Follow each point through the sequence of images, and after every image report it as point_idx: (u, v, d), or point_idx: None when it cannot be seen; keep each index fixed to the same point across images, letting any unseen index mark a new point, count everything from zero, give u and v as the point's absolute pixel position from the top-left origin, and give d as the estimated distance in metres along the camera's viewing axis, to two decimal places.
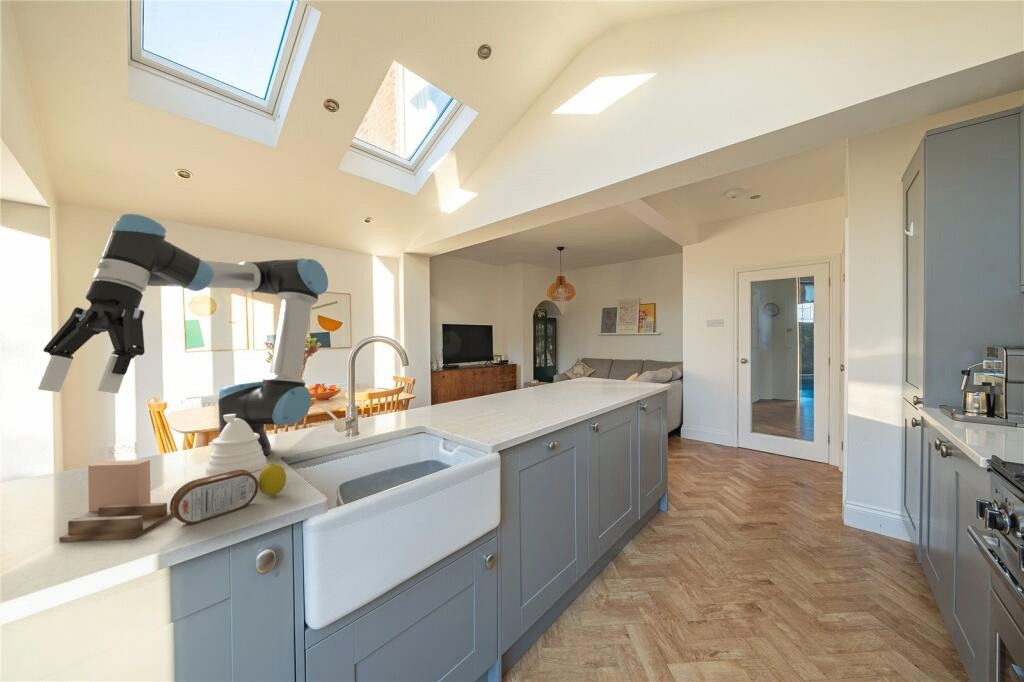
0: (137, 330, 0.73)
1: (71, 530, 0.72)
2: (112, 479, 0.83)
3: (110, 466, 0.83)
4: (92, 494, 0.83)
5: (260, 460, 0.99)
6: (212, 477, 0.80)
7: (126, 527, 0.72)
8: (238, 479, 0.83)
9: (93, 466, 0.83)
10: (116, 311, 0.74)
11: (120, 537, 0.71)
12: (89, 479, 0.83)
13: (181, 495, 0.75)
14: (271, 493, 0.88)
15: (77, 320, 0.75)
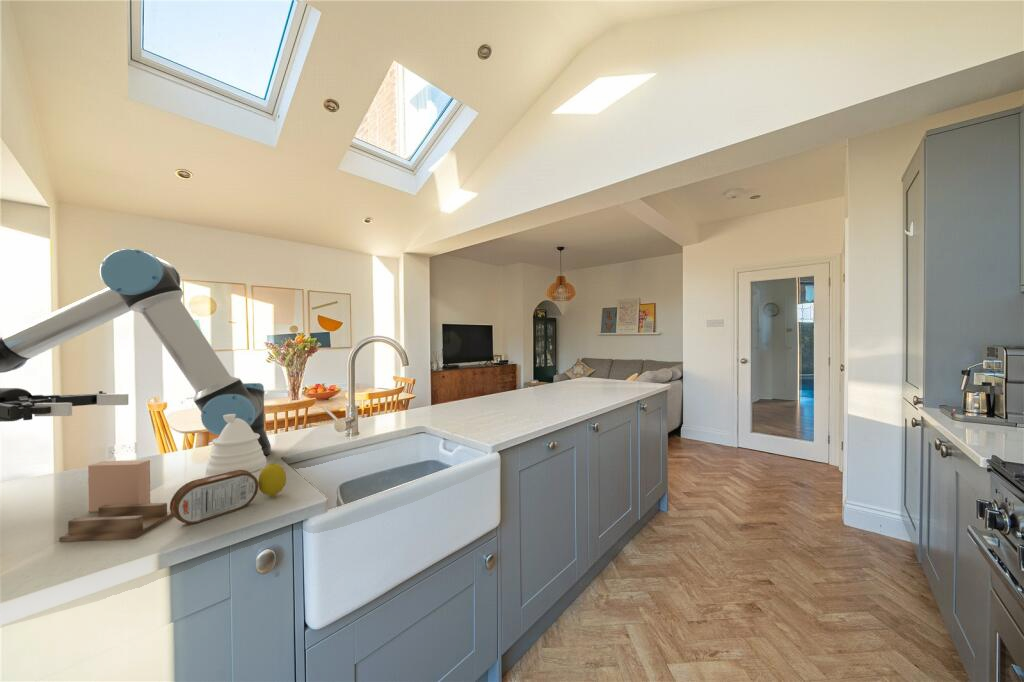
0: (0, 409, 0.80)
1: (71, 530, 0.72)
2: (112, 479, 0.83)
3: (110, 466, 0.83)
4: (92, 494, 0.83)
5: (260, 460, 0.99)
6: (212, 477, 0.80)
7: (126, 527, 0.72)
8: (238, 479, 0.83)
9: (93, 466, 0.83)
10: None
11: (120, 537, 0.71)
12: (89, 479, 0.83)
13: (181, 495, 0.75)
14: (271, 493, 0.88)
15: None
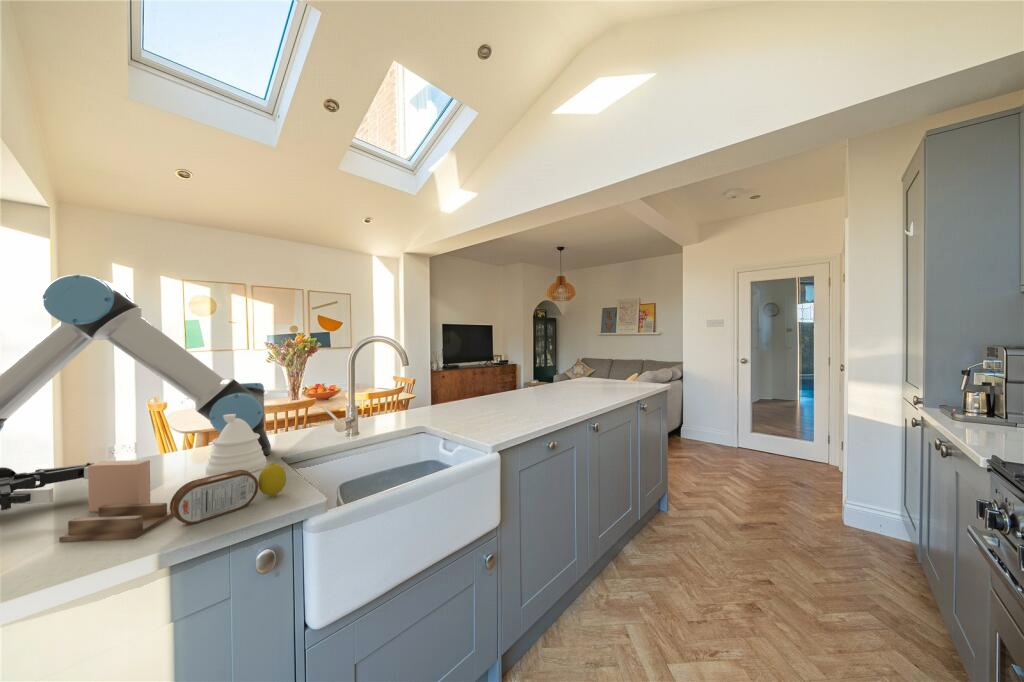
0: None
1: (71, 530, 0.72)
2: (112, 479, 0.83)
3: (110, 466, 0.83)
4: (92, 494, 0.83)
5: (260, 460, 0.99)
6: (212, 477, 0.80)
7: (126, 527, 0.72)
8: (238, 479, 0.83)
9: (93, 466, 0.83)
10: None
11: (120, 537, 0.71)
12: (89, 479, 0.83)
13: (181, 495, 0.75)
14: (271, 493, 0.88)
15: None
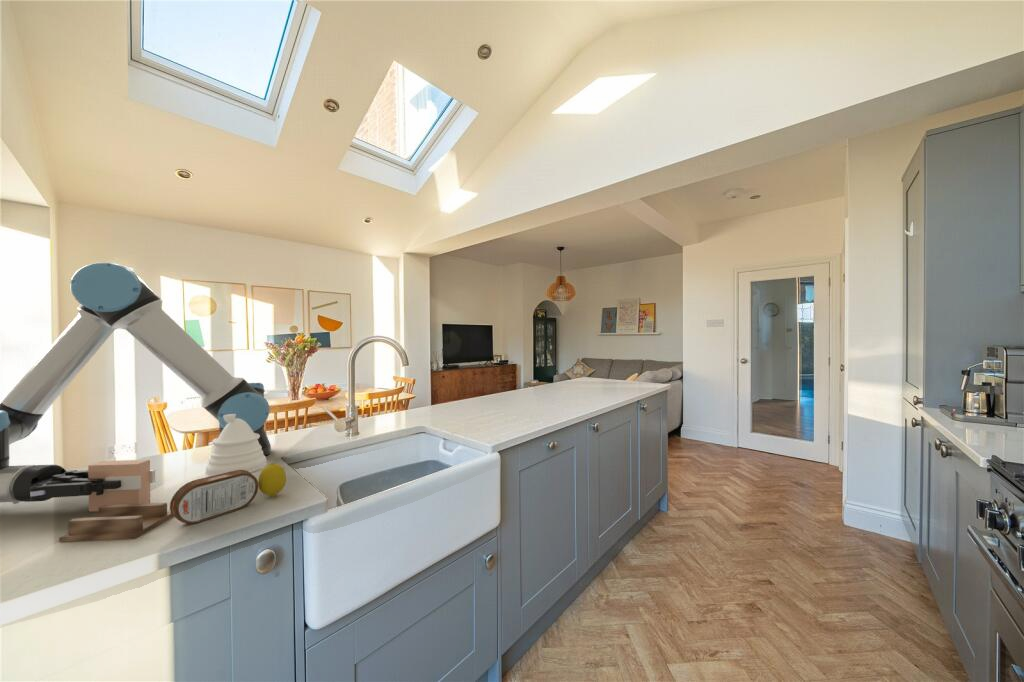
0: (60, 490, 0.79)
1: (71, 530, 0.72)
2: None
3: (110, 466, 0.83)
4: (92, 494, 0.83)
5: (260, 460, 0.99)
6: (212, 477, 0.80)
7: (126, 527, 0.72)
8: (238, 479, 0.83)
9: (93, 466, 0.83)
10: None
11: (120, 537, 0.71)
12: None
13: (181, 495, 0.75)
14: (271, 493, 0.88)
15: None
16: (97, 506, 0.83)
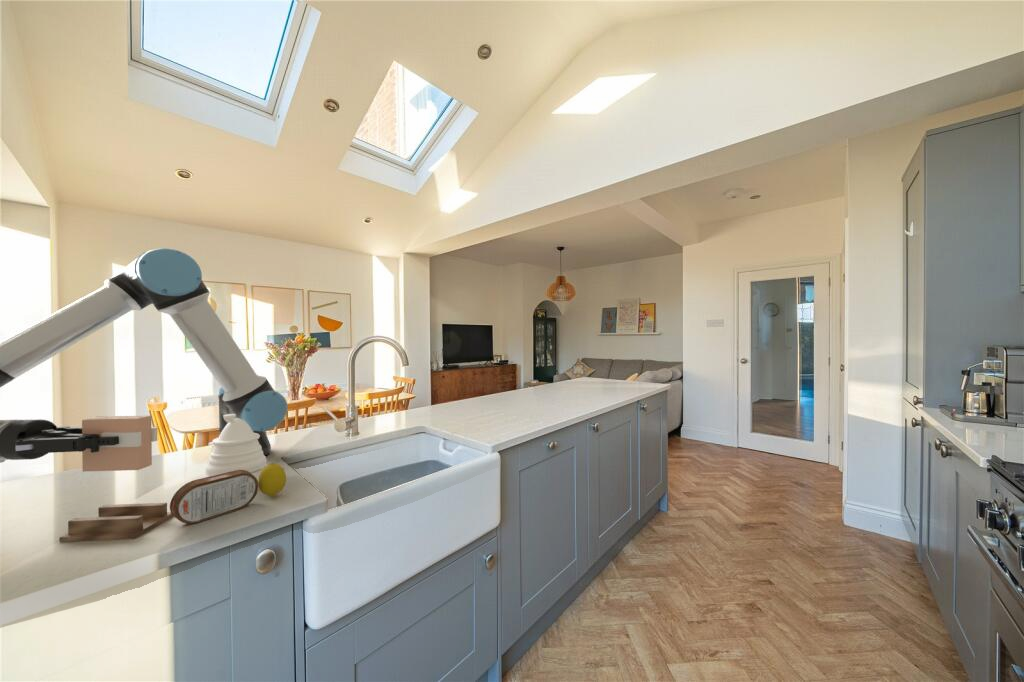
0: (50, 444, 0.69)
1: (71, 530, 0.72)
2: None
3: (107, 420, 0.74)
4: (86, 452, 0.73)
5: (260, 460, 0.99)
6: (212, 477, 0.80)
7: (126, 527, 0.72)
8: (238, 479, 0.83)
9: (87, 420, 0.73)
10: None
11: (120, 537, 0.71)
12: None
13: (181, 495, 0.75)
14: (271, 493, 0.88)
15: None
16: (92, 465, 0.74)
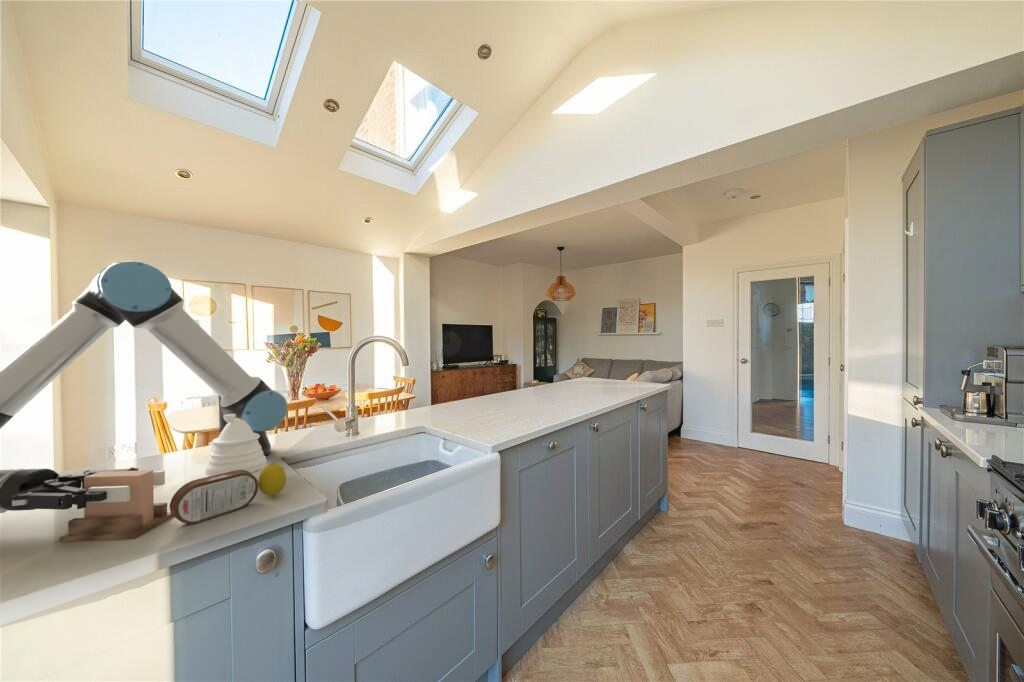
0: (40, 501, 0.68)
1: (71, 530, 0.72)
2: None
3: (109, 477, 0.74)
4: (88, 509, 0.74)
5: (260, 460, 0.99)
6: (212, 477, 0.80)
7: (126, 527, 0.72)
8: (238, 479, 0.83)
9: (89, 478, 0.74)
10: None
11: (120, 537, 0.71)
12: None
13: (181, 495, 0.75)
14: (271, 493, 0.88)
15: None
16: None
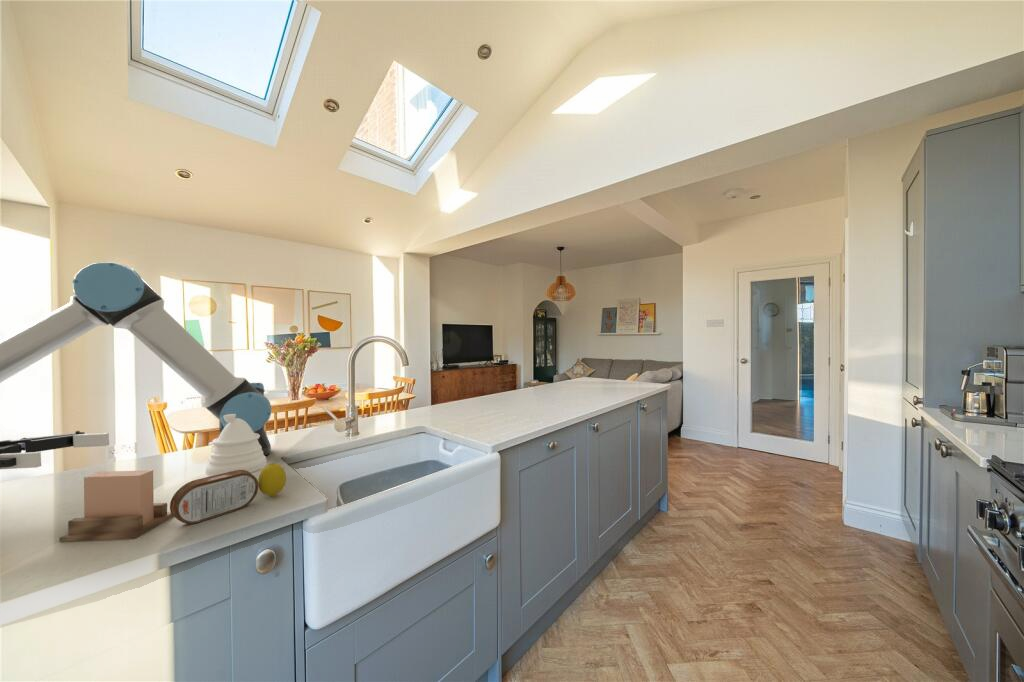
0: None
1: (71, 530, 0.72)
2: (110, 492, 0.74)
3: (109, 477, 0.74)
4: (88, 509, 0.74)
5: (260, 460, 0.99)
6: (212, 477, 0.80)
7: (126, 527, 0.72)
8: (238, 479, 0.83)
9: (89, 478, 0.74)
10: None
11: (120, 537, 0.71)
12: (85, 492, 0.73)
13: (181, 495, 0.75)
14: (271, 493, 0.88)
15: None
16: None
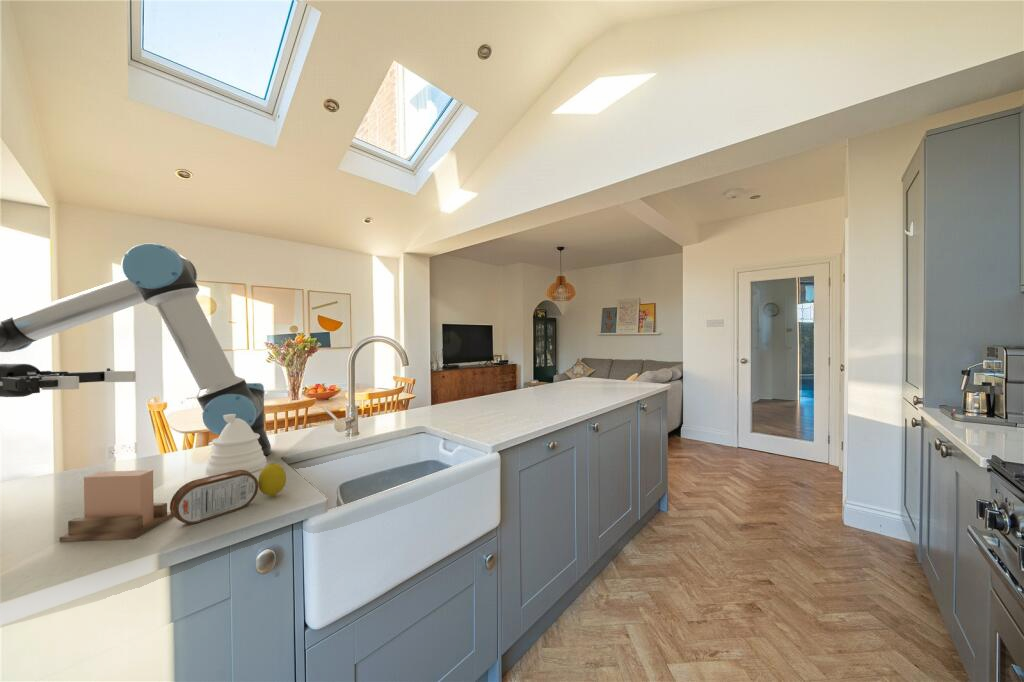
0: (8, 383, 0.80)
1: (71, 530, 0.72)
2: (110, 492, 0.74)
3: (109, 477, 0.74)
4: (88, 509, 0.74)
5: (260, 460, 0.99)
6: (212, 477, 0.80)
7: (126, 527, 0.72)
8: (238, 479, 0.83)
9: (89, 478, 0.74)
10: None
11: (120, 537, 0.71)
12: (85, 492, 0.73)
13: (181, 495, 0.75)
14: (271, 493, 0.88)
15: None
16: None
